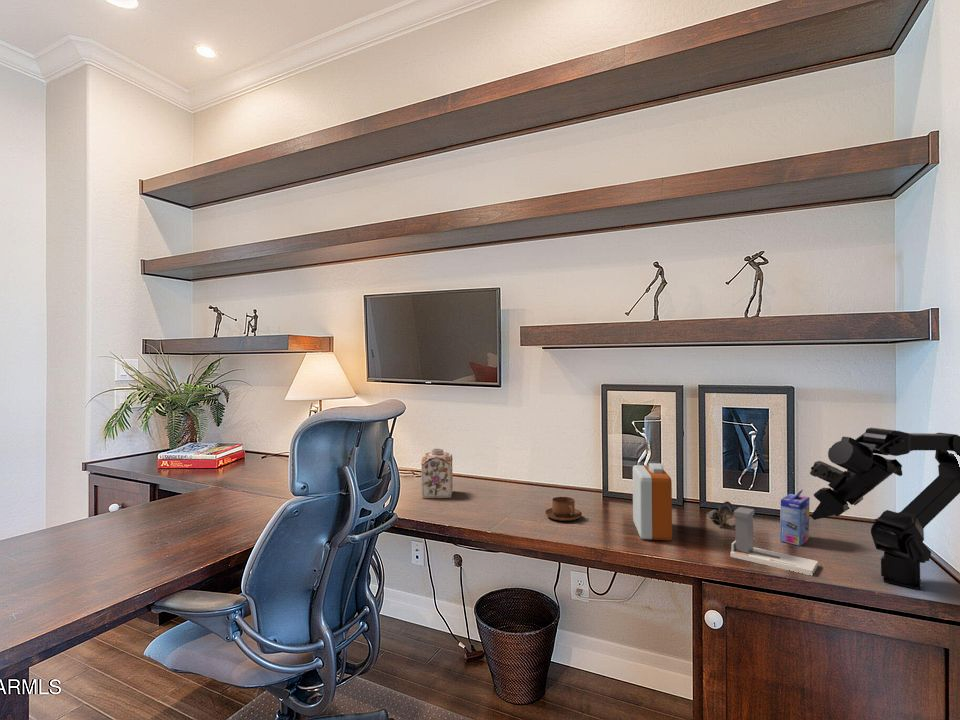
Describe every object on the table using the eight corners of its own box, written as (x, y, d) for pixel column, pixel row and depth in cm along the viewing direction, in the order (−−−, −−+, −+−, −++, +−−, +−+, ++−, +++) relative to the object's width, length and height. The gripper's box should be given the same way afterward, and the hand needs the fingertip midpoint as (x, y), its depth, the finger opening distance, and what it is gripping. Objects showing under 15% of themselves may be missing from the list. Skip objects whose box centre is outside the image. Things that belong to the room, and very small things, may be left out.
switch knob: (754, 547, 132) (754, 509, 132) (749, 553, 128) (748, 514, 128) (740, 544, 134) (739, 507, 135) (734, 550, 130) (733, 511, 130)
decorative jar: (453, 491, 201) (452, 446, 201) (451, 498, 189) (451, 451, 189) (423, 491, 201) (423, 446, 201) (420, 498, 189) (420, 451, 189)
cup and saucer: (589, 518, 163) (589, 500, 164) (565, 526, 156) (565, 506, 156) (561, 510, 173) (561, 493, 173) (537, 517, 165) (537, 498, 165)
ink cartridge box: (802, 547, 137) (801, 494, 137) (779, 542, 141) (778, 491, 141) (810, 538, 144) (809, 488, 144) (788, 533, 148) (788, 485, 148)
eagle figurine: (742, 526, 151) (738, 512, 159) (727, 505, 151) (724, 492, 160) (717, 537, 154) (715, 523, 163) (702, 516, 154) (701, 503, 163)
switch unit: (817, 565, 123) (817, 553, 124) (812, 575, 118) (811, 562, 118) (739, 548, 136) (739, 536, 136) (730, 556, 130) (730, 544, 130)
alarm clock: (672, 542, 141) (672, 470, 141) (640, 540, 142) (640, 469, 142) (661, 522, 159) (660, 458, 159) (632, 521, 160) (632, 457, 161)
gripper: (843, 447, 125) (797, 486, 133) (820, 454, 113) (771, 497, 121) (885, 482, 119) (834, 521, 126) (866, 493, 107) (811, 536, 114)
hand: (812, 518), depth 122 cm, fingers closed
